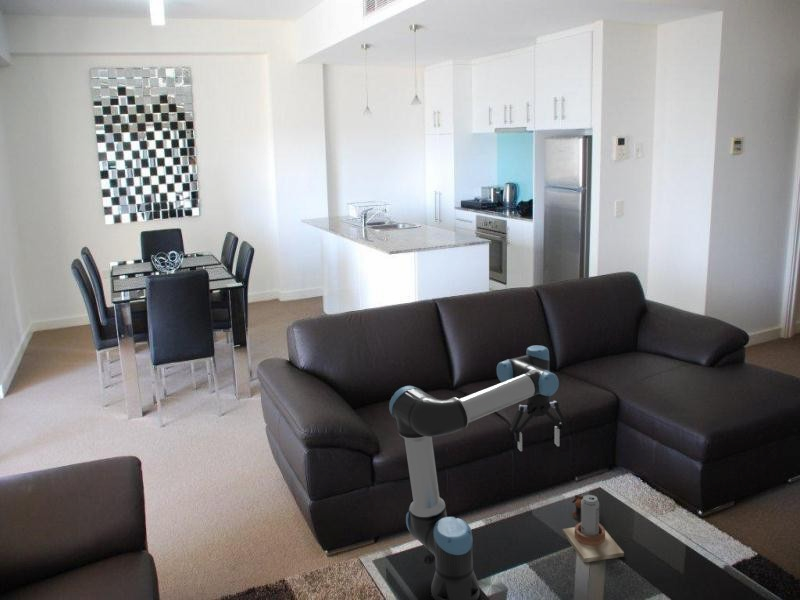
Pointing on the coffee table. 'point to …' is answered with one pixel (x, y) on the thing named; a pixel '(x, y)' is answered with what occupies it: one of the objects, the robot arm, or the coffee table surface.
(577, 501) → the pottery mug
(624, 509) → the coffee table surface
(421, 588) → the coffee table surface
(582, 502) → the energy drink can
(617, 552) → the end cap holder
